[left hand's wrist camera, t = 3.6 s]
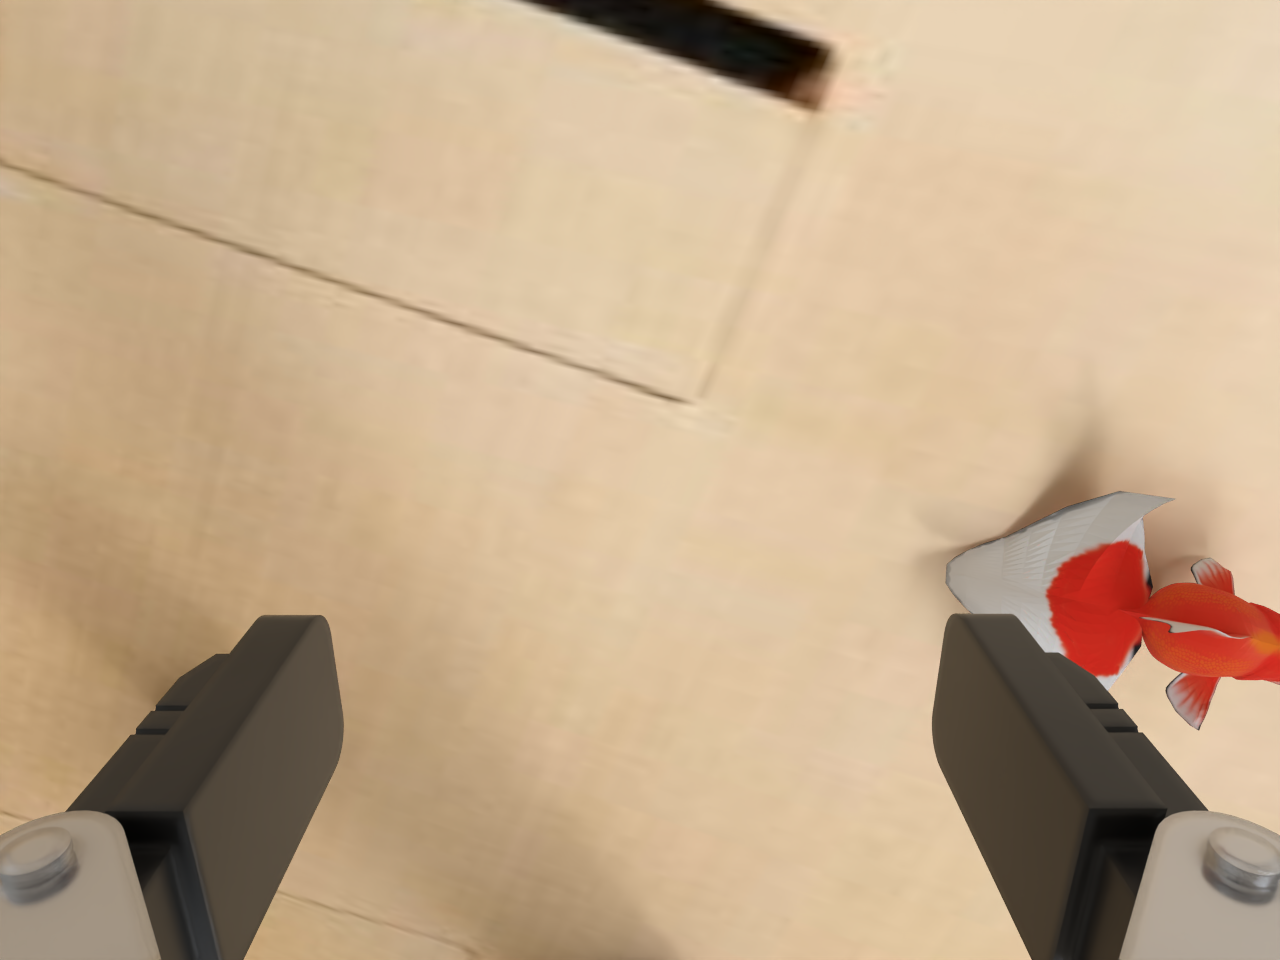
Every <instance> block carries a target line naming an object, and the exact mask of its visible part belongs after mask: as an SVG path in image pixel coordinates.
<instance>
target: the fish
mask: <svg viewBox="0 0 1280 960" xmlns="http://www.w3.org/2000/svg"><path fill="white" fill-rule="evenodd" d="M1172 500H1175V499H1173V498H1166V497H1158V496H1151V495H1144V494H1137V493H1130V492H1122V491H1118V492H1115V493H1112V494H1108V495H1105V496H1101V497H1098V498H1095V499H1091V500H1088V501H1084V502H1081V503H1078V504H1074V505H1071V506H1067V507H1065V508H1063V509H1061V510H1059V511H1057V512H1055V513H1053V514H1051V515H1049V516H1047V517H1045V518H1043V519H1041V520H1039V521H1037V522H1035V523H1033V524H1031V525H1029V526H1027V527H1025V528H1023V529H1021V530H1019V531H1017V532H1015V533H1013V534H1011V535H1009V536H1007V537H1004V538H1001V539H997V540H994V541H991V542H987V543H984V544H982V545H979V546H977V547H975V548H972V549H970V550H967V551H966V552H964V553H962V554H960V555H958V556H957V557H955V558H954V559H953V560H951V561H950V562H949V563H948V564H947V570H946V584H947V586H948V587H949V589H950V590H951V592H952V593H953V595H954V596H955V597H956V598H957V599H958V600H959V601H960V602H961V604H962V605H963V606H964V607H965V608H966V609H967V610H968V611H969V612H971V613H972V614H1013V615H1015V616H1016V617H1017V618H1018V619H1019V620H1020V621H1021V622H1022V624H1023V625H1024V626H1025V627H1026V629H1027V630H1028V631H1029V632H1030V634H1031V635H1032V636H1033V638H1034V639H1035V640H1036V641H1037V643H1038V644H1039V645H1040V646H1041V648H1042V649H1043V650H1044V652H1059V653H1060V654H1062V655H1063V656H1065V657H1066V658H1068V659H1070V660H1071V661H1073V662H1074V663H1076V664H1077V665H1079V666H1080V667H1082V668H1083V669H1085V670H1086V671H1088V672H1090V673H1091V674H1093V675H1094V676H1095V677H1096V678H1097V679H1098V680H1099V681H1100V683H1101V684H1102V685H1103V686H1104V687H1105V689H1106V690H1107V691H1108V690H1109V689H1110V687H1111V686H1112V685H1113V684H1114V682H1115V681H1116V680H1117V679H1118V677H1119V676H1120V675H1121V673H1122V672H1123V671H1124V669H1125V668H1126V666H1127V665H1128V664H1129V662H1130V661H1131V660H1132V658H1133V657H1134V655H1135V654H1136V653H1137V651H1138V650H1139V648H1140V647H1141V641H1142V637H1143V639H1144V642H1145V644H1146V646H1147V648H1148V650H1149V652H1150V653H1151V654H1152V656H1153V657H1154V658H1155V659H1157V660H1158V661H1160V662H1161V663H1163V664H1164V665H1166V666H1168V667H1169V668H1171V669H1173V670H1175V671H1178V672H1181V674H1179V675H1178V676H1177V677H1176V678H1175V679H1174V680H1173V681H1172V682H1171V683H1170V684H1169V685H1168V686H1167V687H1166V694H1167V697H1168V699H1169V700H1170V702H1171V704H1172V706H1173V707H1174V709H1175V711H1176V712H1177V713H1178V714H1179V715H1180V716H1181V717H1182V718H1183V719H1184V720H1185V721H1186V722H1187V723H1188V724H1189V725H1190V726H1192V727H1194V728H1195V729H1197V730H1199V729H1200V726H1201V724H1202V722H1203V720H1204V718H1205V716H1206V714H1207V711H1208V709H1209V705H1210V702H1211V699H1212V697H1213V695H1214V692H1215V689H1216V686H1217V684H1218V682H1219V680H1220V678H1221V677H1233V678H1235V679H1237V680H1266V681H1270V682H1273V683H1275V684H1278V685H1280V614H1278V613H1277V612H1275V611H1273V610H1271V609H1269V608H1267V607H1264V606H1261V605H1258V604H1254V603H1248V602H1246V601H1244V600H1243V599H1241V598H1239V597H1237V596H1235V593H1234V583H1233V577H1232V574H1231V571H1229V570H1227V569H1225V568H1224V567H1222V566H1221V565H1220V564H1218V563H1217V562H1216V561H1214V560H1213V559H1212V558H1207V559H1201V560H1200V561H1198V562H1197V563H1195V564H1194V565H1193V566H1192V567H1191V571H1192V573H1193V575H1194V577H1195V579H1196V582H1197V584H1196V583H1176V584H1171V585H1169V586H1166V587H1164V588H1162V589H1160V590H1159V591H1157V592H1156V593H1155V594H1153V595H1152V596H1151V597H1150V594H1151V591H1152V588H1153V585H1152V581H1151V576H1150V572H1149V568H1148V563H1147V559H1146V555H1145V536H1144V526H1143V516H1144V515H1146V514H1147V513H1149V512H1150V511H1152V510H1153V509H1155V508H1157V507H1159V506H1161V505H1162V504H1164V503H1167V502H1169V501H1172ZM1149 597H1150V598H1149Z"/></svg>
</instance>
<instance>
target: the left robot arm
mask: <svg viewBox="0 0 1280 960" xmlns="http://www.w3.org/2000/svg"><path fill="white" fill-rule="evenodd" d="M1137 727H1138V726H1137V725H1136V724H1135V723H1134V722H1133V721H1132V719H1131V718H1130V717H1129V716H1128V715H1127V713H1126V712H1125V711H1124V710H1123V709H1119V708H1118V703H1117V702H1116V700H1115V699H1114V698H1113V697H1112V696H1111V694H1110V693H1109V692H1108V691H1107V690H1106V689H1105V687H1104V686H1103V685H1102V684H1101V683H1100V681H1099V680H1098V679H1097V678H1096V677H1095V676H1094V675H1093V674H1091V673H1090V672H1088V671H1086V670H1085V669H1083V668H1082V667H1080V666H1079V665H1077V664H1076V663H1074V662H1073V661H1071V660H1070V659H1068V658H1066V657H1065V656H1063V655H1062V654H1060V653H1059V652H1044V650H1043V649H1042V648H1041V646H1040V645H1039V644H1038V643H1037V641H1036V640H1035V639H1034V638H1033V636H1032V635H1031V634H1030V632H1029V631H1028V630H1027V629H1026V627H1025V626H1024V625H1023V624H1022V622H1021V621H1020V620H1019V619H1018V618H1017V617H1016V616H1015V615H1013V614H953V615H951V616H950V618H949V619H948V621H947V624H946V627H945V632H944V639H943V646H942V652H941V659H940V666H939V673H938V680H937V687H936V694H935V700H934V707H933V715H932V735H933V744H934V749H935V753H936V757H937V760H938V763H939V766H940V768H941V770H942V772H943V774H944V776H945V778H946V781H947V783H948V785H949V787H950V789H951V791H952V793H953V795H954V797H955V799H956V802H957V804H958V806H959V808H960V810H961V812H962V814H963V816H964V818H965V820H966V823H967V825H968V827H969V829H970V831H971V833H972V835H973V837H974V839H975V841H976V844H977V846H978V848H979V850H980V852H981V854H982V856H983V858H984V860H985V862H986V865H987V867H988V869H989V871H990V873H991V875H992V877H993V879H994V881H995V883H996V886H997V888H998V890H999V892H1000V894H1001V896H1002V898H1003V900H1004V902H1005V904H1006V907H1007V909H1008V911H1009V913H1010V915H1011V917H1012V919H1013V921H1014V923H1015V925H1016V928H1017V930H1018V932H1019V934H1020V936H1021V938H1022V940H1023V942H1024V944H1025V946H1026V949H1027V951H1028V953H1029V955H1030V957H1031V959H1032V960H1280V835H1278V834H1276V833H1274V832H1272V831H1270V830H1268V829H1266V828H1264V827H1262V826H1260V825H1257V824H1255V823H1253V822H1250V821H1247V820H1244V819H1241V818H1238V817H1235V816H1231V815H1227V814H1223V813H1218V812H1211V811H1208V809H1207V808H1206V807H1205V806H1204V805H1203V804H1202V802H1201V801H1200V800H1199V799H1198V798H1197V796H1196V795H1195V794H1194V793H1193V792H1192V791H1191V789H1190V788H1189V787H1188V786H1187V785H1186V783H1185V782H1184V781H1183V780H1182V779H1181V777H1180V776H1179V775H1178V774H1177V773H1176V772H1175V770H1174V769H1173V768H1172V767H1171V766H1170V764H1169V763H1168V762H1167V761H1166V760H1165V759H1164V757H1163V756H1162V755H1161V754H1160V753H1159V751H1158V750H1157V749H1156V748H1155V747H1154V745H1153V744H1152V743H1151V742H1150V741H1149V740H1148V738H1147V737H1146V736H1145V735H1144V734H1143V733H1138V729H1137ZM343 728H344V724H343V712H342V705H341V699H340V692H339V685H338V678H337V672H336V665H335V658H334V651H333V645H332V638H331V632H330V628H329V624H328V622H327V620H326V619H325V617H323V616H321V615H263V616H261V617H259V618H258V619H257V620H256V621H255V622H254V624H253V625H252V626H251V627H250V629H249V630H248V631H247V632H246V634H245V635H244V636H243V637H242V639H241V640H240V641H239V642H238V644H237V645H236V646H235V648H234V649H233V650H232V651H231V653H230V654H215V655H214V656H212V657H211V658H209V659H208V660H206V661H205V662H203V663H201V664H200V665H198V666H197V667H195V668H194V669H192V670H191V671H189V672H188V673H186V674H184V675H183V676H181V677H180V678H179V679H178V680H177V681H176V682H175V684H174V685H173V686H172V687H171V688H170V689H169V691H168V692H167V693H166V694H165V695H164V697H163V698H162V699H161V700H160V701H159V702H158V704H157V705H156V710H155V711H151V712H150V713H149V714H148V715H147V716H146V718H145V719H144V720H143V721H142V722H141V724H140V725H139V726H138V727H137V728H136V734H135V735H130V736H129V738H128V739H127V740H126V741H125V742H124V744H123V745H122V746H121V747H120V748H119V749H118V751H117V752H116V753H115V754H114V755H113V756H112V758H111V759H110V760H109V761H108V762H107V763H106V765H105V766H104V767H103V768H102V769H101V771H100V772H99V773H98V774H97V775H96V776H95V778H94V779H93V780H92V781H91V782H90V783H89V785H88V786H87V787H86V788H85V789H84V791H83V792H82V793H81V794H80V795H79V796H78V798H77V799H76V800H75V801H74V802H73V803H72V805H71V806H70V807H69V808H68V809H67V810H66V812H62V813H57V814H53V815H49V816H45V817H42V818H39V819H36V820H33V821H30V822H27V823H25V824H23V825H20V826H18V827H16V828H14V829H12V830H10V831H8V832H6V833H4V834H2V835H0V960H243V959H244V957H245V955H246V953H247V951H248V949H249V947H250V945H251V943H252V941H253V939H254V937H255V935H256V932H257V930H258V928H259V926H260V924H261V922H262V920H263V918H264V916H265V914H266V912H267V910H268V908H269V906H270V903H271V901H272V899H273V897H274V895H275V893H276V891H277V889H278V887H279V885H280V883H281V881H282V879H283V876H284V874H285V872H286V870H287V868H288V866H289V864H290V862H291V860H292V858H293V856H294V854H295V852H296V849H297V847H298V845H299V843H300V841H301V839H302V837H303V835H304V833H305V831H306V829H307V827H308V825H309V823H310V820H311V818H312V816H313V814H314V812H315V810H316V808H317V806H318V804H319V802H320V800H321V798H322V796H323V793H324V791H325V789H326V787H327V785H328V783H329V781H330V779H331V777H332V775H333V773H334V771H335V768H336V766H337V764H338V761H339V757H340V753H341V748H342V742H343Z"/></svg>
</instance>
